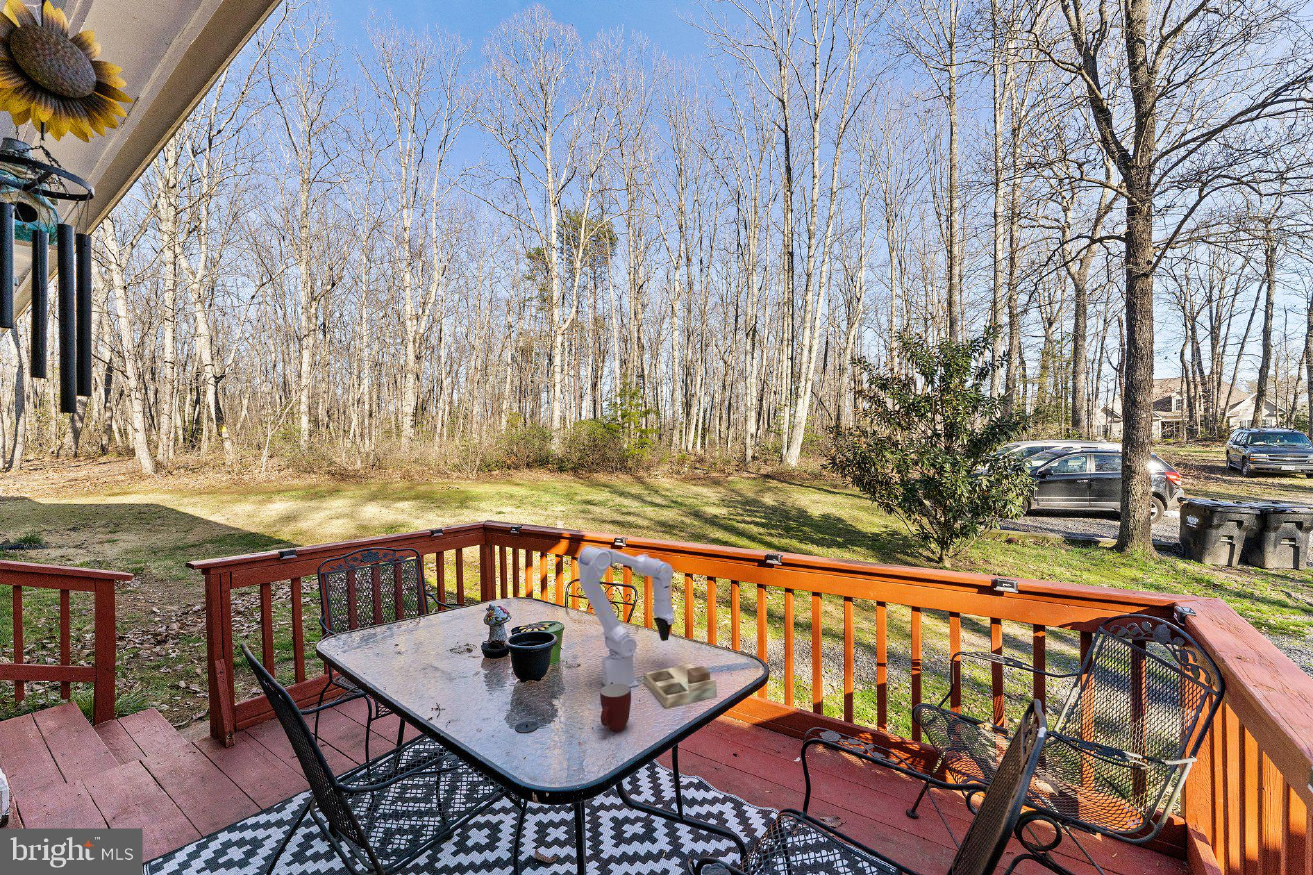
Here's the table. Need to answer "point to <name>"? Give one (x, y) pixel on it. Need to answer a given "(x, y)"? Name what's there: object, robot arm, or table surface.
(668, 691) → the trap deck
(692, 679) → the walnut block
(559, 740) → the table surface
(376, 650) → the table surface
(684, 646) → the table surface
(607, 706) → the mug
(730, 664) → the table surface
